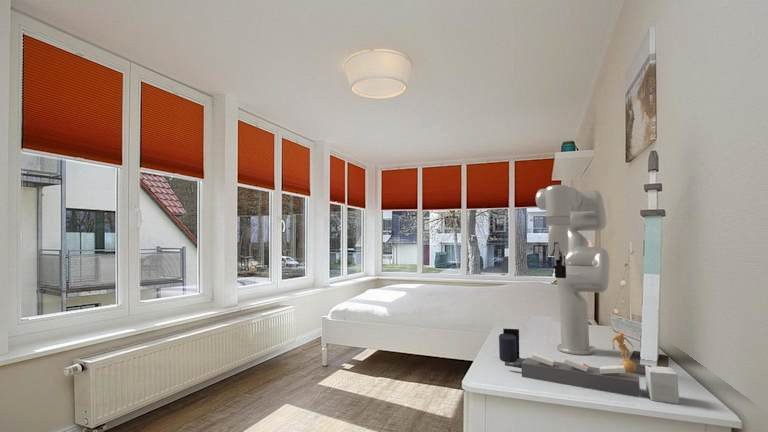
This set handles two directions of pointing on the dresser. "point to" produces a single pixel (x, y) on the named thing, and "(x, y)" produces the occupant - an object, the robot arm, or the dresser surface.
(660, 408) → the dresser surface
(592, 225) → the robot arm
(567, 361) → the block
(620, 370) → the block
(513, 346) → the speaker
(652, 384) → the skincare box
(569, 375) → the power strip
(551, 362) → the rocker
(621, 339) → the figurine
